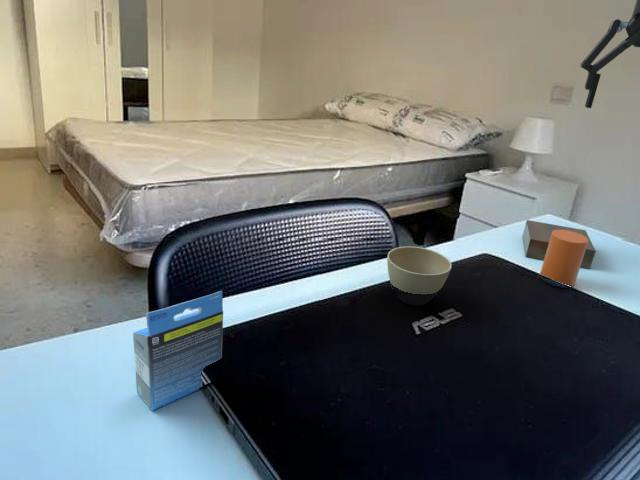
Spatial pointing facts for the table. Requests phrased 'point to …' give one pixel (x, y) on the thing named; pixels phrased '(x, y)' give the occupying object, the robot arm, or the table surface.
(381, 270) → the table surface
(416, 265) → the beige bowl
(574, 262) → the orange drum
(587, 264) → the grey shallow square box
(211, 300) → the label tape box
